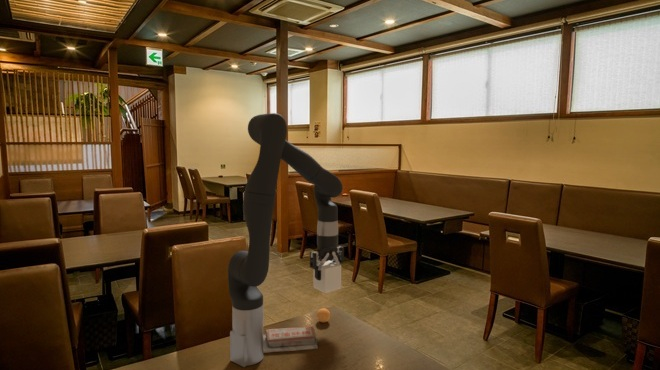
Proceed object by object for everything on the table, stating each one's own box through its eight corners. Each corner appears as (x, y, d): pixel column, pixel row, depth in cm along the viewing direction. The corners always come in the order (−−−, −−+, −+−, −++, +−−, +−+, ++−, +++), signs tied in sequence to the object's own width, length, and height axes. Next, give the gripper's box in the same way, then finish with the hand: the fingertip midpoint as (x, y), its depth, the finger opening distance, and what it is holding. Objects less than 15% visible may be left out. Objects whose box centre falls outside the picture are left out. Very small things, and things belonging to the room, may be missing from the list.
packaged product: (314, 322, 136) (318, 336, 127) (314, 335, 137) (317, 350, 127) (261, 325, 133) (261, 340, 124) (261, 338, 134) (261, 354, 124)
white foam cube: (341, 288, 141) (341, 265, 140) (325, 293, 137) (325, 269, 136) (328, 283, 147) (329, 260, 146) (313, 287, 142) (313, 263, 141)
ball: (314, 318, 147) (322, 327, 144) (313, 309, 145) (321, 318, 141) (325, 312, 150) (333, 320, 146) (324, 303, 147) (332, 311, 144)
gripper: (336, 228, 147) (335, 270, 149) (304, 233, 138) (304, 278, 140) (349, 232, 141) (348, 276, 143) (317, 237, 132) (317, 284, 134)
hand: (327, 277), depth 141 cm, fingers closed on white foam cube, 7 cm apart
